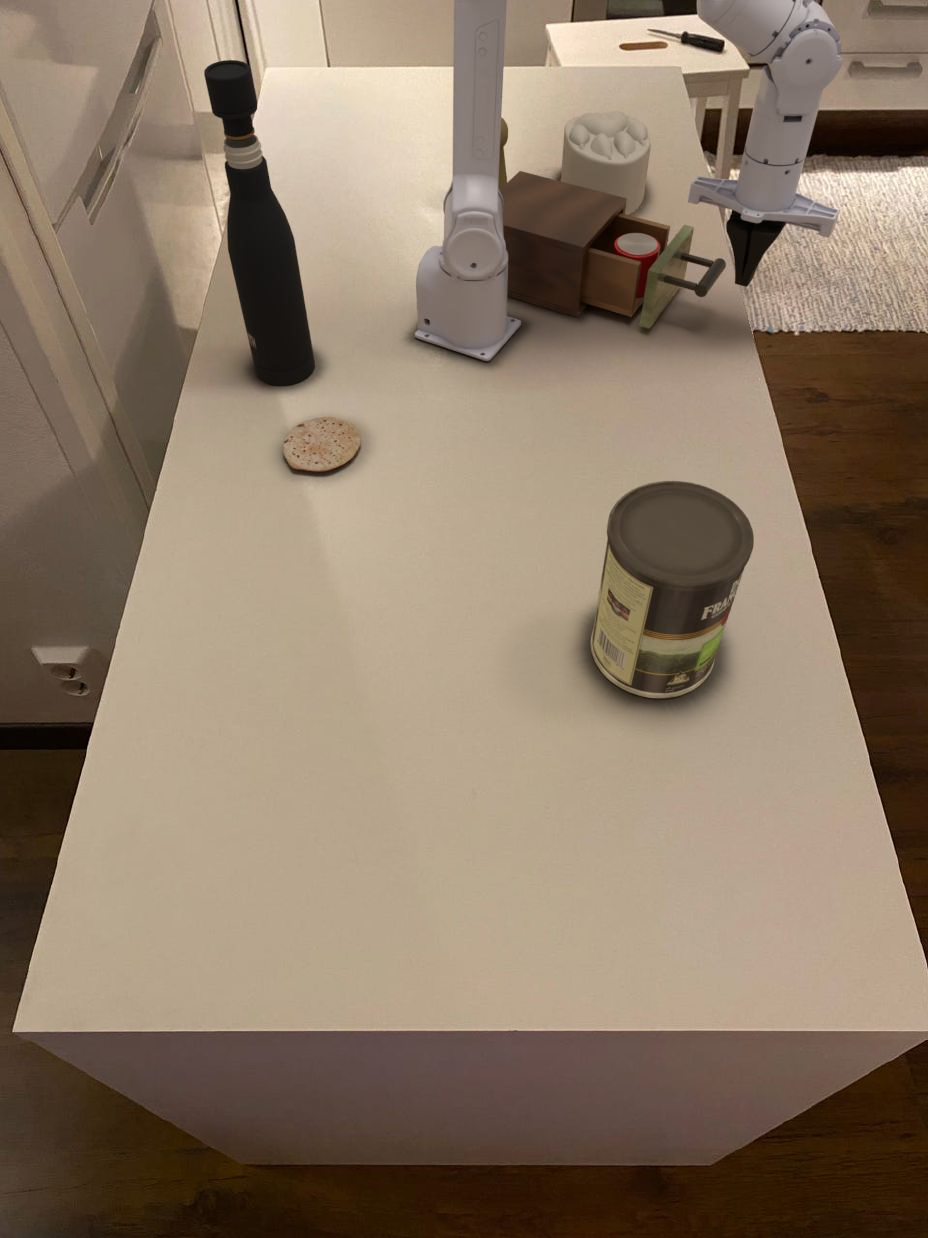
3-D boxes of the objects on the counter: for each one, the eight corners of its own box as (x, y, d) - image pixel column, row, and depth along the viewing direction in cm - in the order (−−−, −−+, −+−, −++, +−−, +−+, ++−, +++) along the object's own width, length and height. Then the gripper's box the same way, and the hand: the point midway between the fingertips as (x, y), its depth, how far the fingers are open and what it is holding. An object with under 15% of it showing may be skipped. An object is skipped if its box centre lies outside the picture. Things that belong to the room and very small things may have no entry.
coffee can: (734, 631, 79) (775, 511, 68) (684, 720, 74) (720, 606, 63) (623, 582, 83) (645, 461, 72) (567, 664, 77) (582, 547, 66)
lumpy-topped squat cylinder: (631, 166, 129) (639, 99, 122) (653, 216, 121) (664, 147, 114) (555, 171, 128) (559, 104, 121) (573, 221, 120) (578, 153, 113)
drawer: (724, 293, 108) (737, 237, 103) (691, 341, 103) (703, 285, 97) (585, 254, 114) (591, 199, 108) (547, 298, 108) (550, 242, 103)
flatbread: (310, 413, 97) (309, 405, 96) (375, 434, 95) (374, 426, 94) (267, 462, 93) (265, 454, 92) (333, 485, 91) (331, 478, 90)
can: (602, 290, 107) (607, 248, 103) (620, 269, 110) (625, 227, 106) (643, 302, 105) (649, 260, 101) (660, 280, 108) (667, 238, 104)
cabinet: (618, 267, 113) (627, 198, 107) (577, 317, 107) (583, 247, 100) (517, 238, 118) (519, 170, 111) (472, 285, 111) (471, 215, 105)
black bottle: (324, 355, 103) (278, 58, 80) (299, 391, 100) (243, 89, 76) (271, 344, 105) (211, 48, 81) (245, 379, 101) (173, 79, 78)
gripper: (687, 152, 90) (665, 281, 101) (839, 188, 85) (799, 319, 96) (713, 122, 94) (689, 249, 104) (860, 154, 89) (819, 284, 100)
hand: (743, 280), depth 100 cm, fingers closed
